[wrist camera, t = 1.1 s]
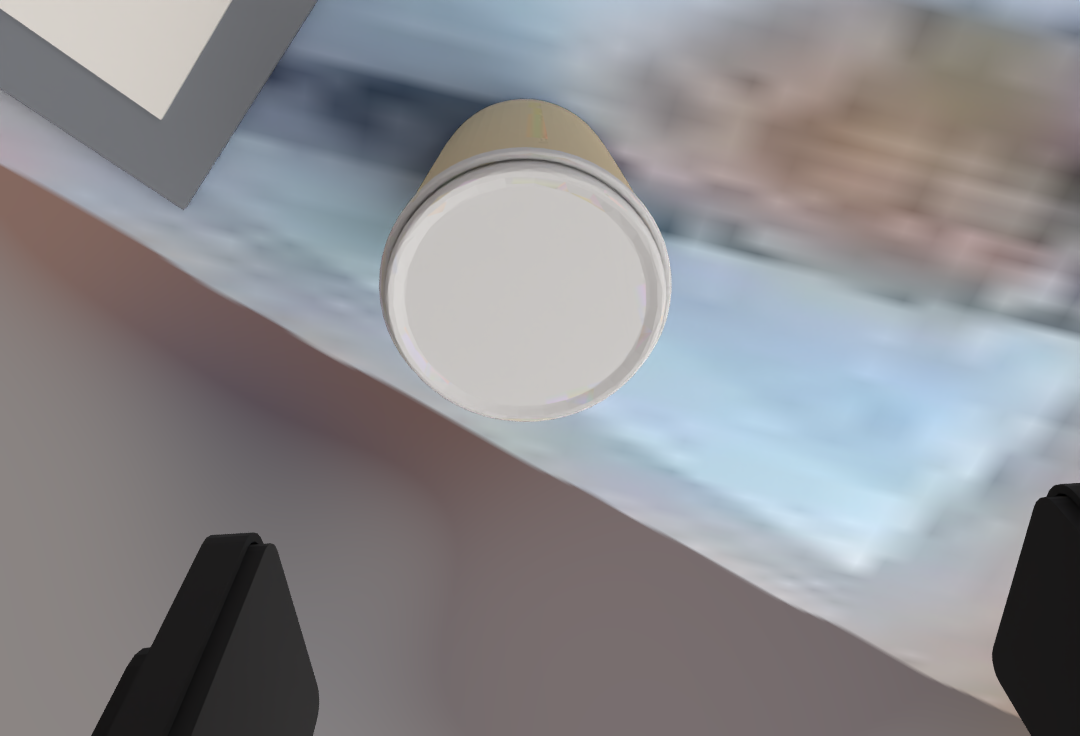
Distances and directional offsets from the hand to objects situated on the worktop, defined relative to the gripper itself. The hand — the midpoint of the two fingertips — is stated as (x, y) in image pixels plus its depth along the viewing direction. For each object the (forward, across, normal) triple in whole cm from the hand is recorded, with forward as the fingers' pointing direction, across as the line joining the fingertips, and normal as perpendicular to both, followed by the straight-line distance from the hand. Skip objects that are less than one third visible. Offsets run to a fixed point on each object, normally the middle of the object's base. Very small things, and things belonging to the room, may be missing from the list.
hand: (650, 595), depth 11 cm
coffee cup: (+28, +2, +4) cm, 28 cm away
